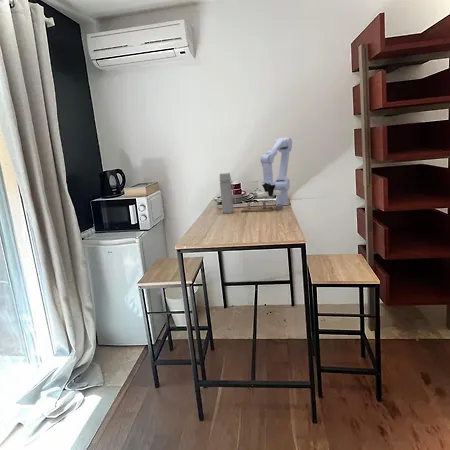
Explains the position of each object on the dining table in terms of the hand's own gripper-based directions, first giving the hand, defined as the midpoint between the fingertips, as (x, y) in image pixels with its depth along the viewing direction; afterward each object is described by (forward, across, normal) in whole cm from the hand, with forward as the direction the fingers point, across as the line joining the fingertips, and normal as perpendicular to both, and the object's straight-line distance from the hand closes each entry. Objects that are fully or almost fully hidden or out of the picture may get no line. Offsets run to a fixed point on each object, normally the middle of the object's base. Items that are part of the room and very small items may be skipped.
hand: (269, 195), depth 240 cm
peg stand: (+9, -4, -8) cm, 12 cm away
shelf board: (0, 0, 0) cm, 0 cm away
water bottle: (+9, -9, -24) cm, 27 cm away
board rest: (+9, +2, +6) cm, 11 cm away
